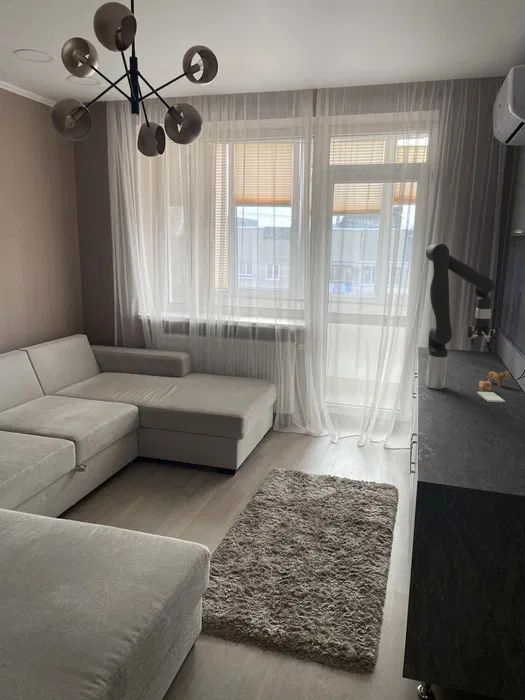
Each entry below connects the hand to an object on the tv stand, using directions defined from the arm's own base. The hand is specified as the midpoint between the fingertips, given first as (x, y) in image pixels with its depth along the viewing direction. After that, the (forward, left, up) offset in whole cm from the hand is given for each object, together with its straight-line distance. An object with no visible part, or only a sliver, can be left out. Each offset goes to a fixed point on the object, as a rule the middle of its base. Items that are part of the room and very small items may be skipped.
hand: (480, 346), depth 267 cm
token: (+2, -6, -22) cm, 23 cm away
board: (0, -19, -22) cm, 29 cm away
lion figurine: (+13, +5, -22) cm, 26 cm away
